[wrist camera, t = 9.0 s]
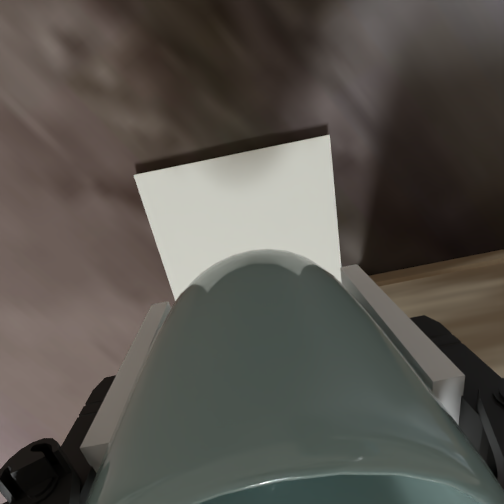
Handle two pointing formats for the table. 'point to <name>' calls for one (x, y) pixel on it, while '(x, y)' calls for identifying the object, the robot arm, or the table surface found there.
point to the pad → (244, 208)
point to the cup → (283, 402)
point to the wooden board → (457, 300)
